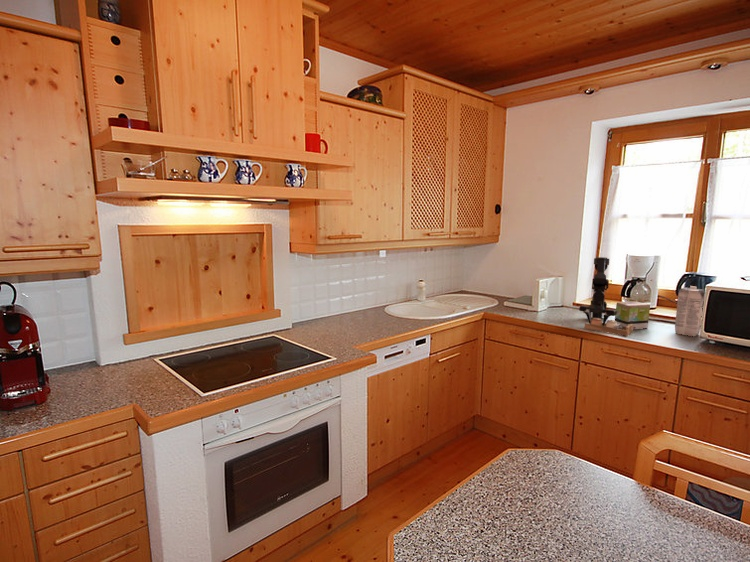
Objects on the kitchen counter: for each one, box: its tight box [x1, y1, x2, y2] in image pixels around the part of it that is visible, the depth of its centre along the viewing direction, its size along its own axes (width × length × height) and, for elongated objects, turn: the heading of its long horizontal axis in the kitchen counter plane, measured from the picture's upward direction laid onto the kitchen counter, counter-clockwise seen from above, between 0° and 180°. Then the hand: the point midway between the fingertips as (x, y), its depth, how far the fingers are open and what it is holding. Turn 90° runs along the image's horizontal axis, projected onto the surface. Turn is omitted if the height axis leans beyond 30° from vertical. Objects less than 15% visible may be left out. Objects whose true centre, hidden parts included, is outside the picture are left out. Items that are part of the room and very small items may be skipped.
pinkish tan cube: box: [591, 318, 603, 326], centre depth 244 cm, size 6×6×6 cm
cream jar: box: [606, 319, 617, 328], centre depth 239 cm, size 6×6×6 cm
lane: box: [583, 322, 634, 337], centre depth 240 cm, size 10×22×5 cm, turn 44°
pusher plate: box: [616, 323, 623, 330], centre depth 236 cm, size 7×2×4 cm, turn 134°
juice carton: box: [674, 285, 705, 338], centre depth 231 cm, size 9×10×27 cm
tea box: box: [614, 301, 651, 330], centre depth 246 cm, size 15×10×15 cm, turn 105°
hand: (596, 324), depth 245 cm, fingers open, 7 cm apart
